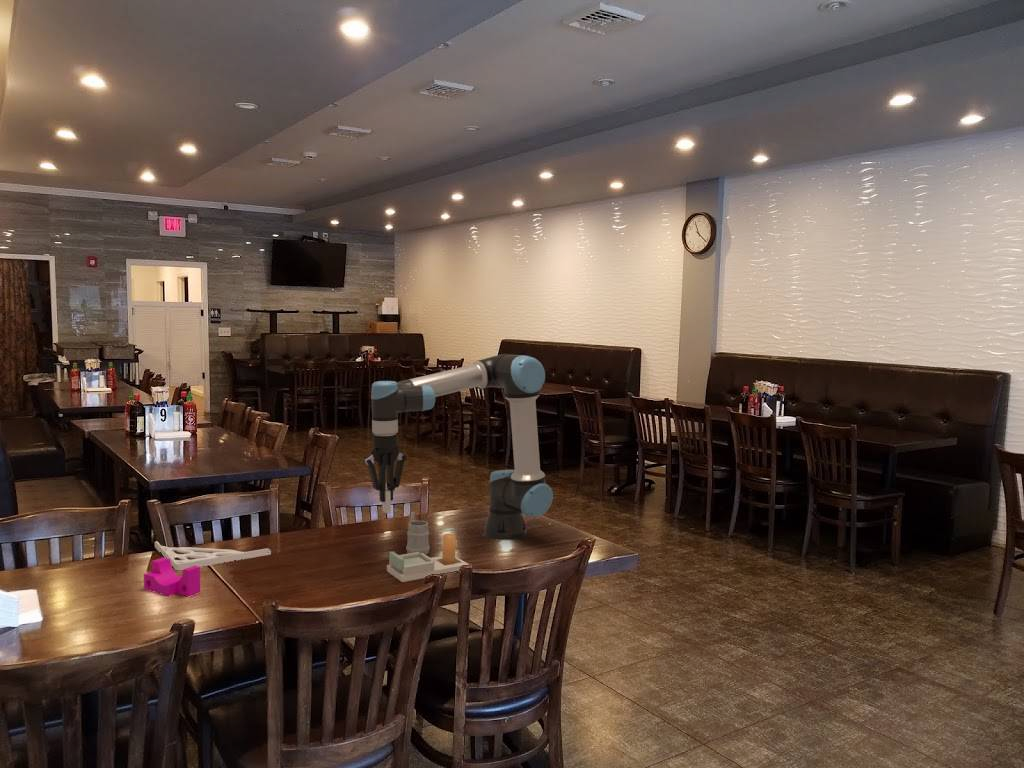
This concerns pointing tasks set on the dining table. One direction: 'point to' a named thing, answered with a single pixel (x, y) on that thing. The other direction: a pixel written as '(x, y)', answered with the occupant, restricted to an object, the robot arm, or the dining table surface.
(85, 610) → the dining table surface
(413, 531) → the mug
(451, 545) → the orange cylinder
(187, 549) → the shelf bracket
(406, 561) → the pale green l-shaped block
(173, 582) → the toy block
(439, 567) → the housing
